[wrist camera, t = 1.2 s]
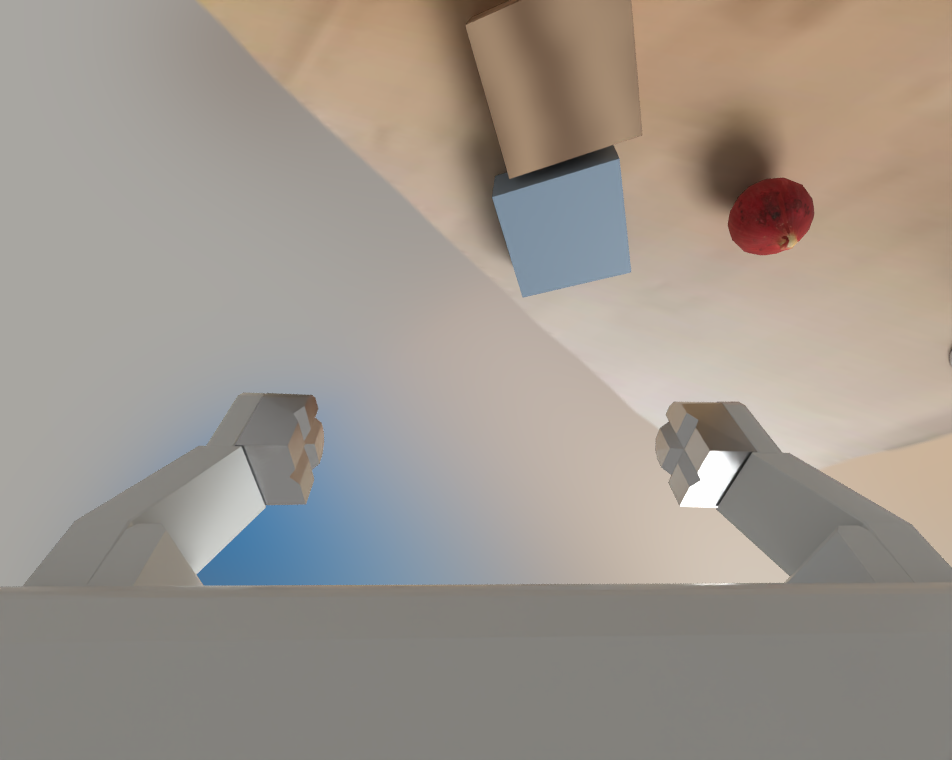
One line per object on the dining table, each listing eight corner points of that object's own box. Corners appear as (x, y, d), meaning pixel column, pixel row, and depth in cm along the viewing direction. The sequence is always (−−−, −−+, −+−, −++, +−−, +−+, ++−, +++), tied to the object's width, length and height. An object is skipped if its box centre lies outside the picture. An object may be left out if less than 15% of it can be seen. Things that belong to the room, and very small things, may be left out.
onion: (709, 187, 38) (741, 229, 32) (784, 150, 36) (834, 187, 30) (724, 241, 41) (756, 287, 36) (794, 210, 39) (840, 254, 33)
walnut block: (614, -48, 29) (627, -48, 25) (630, 116, 35) (642, 135, 32) (471, 16, 32) (465, 25, 28) (510, 157, 38) (509, 179, 34)
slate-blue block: (610, 138, 36) (619, 158, 33) (622, 245, 43) (631, 272, 39) (495, 174, 39) (492, 197, 36) (523, 270, 46) (522, 297, 42)
